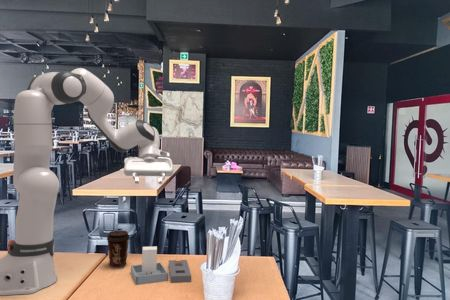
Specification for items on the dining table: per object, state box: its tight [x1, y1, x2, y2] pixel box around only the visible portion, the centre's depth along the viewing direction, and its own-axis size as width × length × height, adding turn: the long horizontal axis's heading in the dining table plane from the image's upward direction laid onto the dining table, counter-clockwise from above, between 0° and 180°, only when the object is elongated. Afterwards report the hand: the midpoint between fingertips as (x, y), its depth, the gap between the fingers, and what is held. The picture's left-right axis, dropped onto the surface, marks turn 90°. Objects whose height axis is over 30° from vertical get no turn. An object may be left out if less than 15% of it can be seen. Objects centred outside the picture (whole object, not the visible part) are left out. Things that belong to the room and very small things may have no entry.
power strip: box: [168, 258, 192, 284], centre depth 130 cm, size 16×7×3 cm, turn 12°
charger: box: [141, 245, 158, 275], centre depth 126 cm, size 5×4×10 cm
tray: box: [130, 261, 169, 286], centre depth 126 cm, size 11×11×3 cm
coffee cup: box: [106, 229, 130, 270], centre depth 136 cm, size 9×8×13 cm
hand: (148, 182), depth 144 cm, fingers open, 8 cm apart
